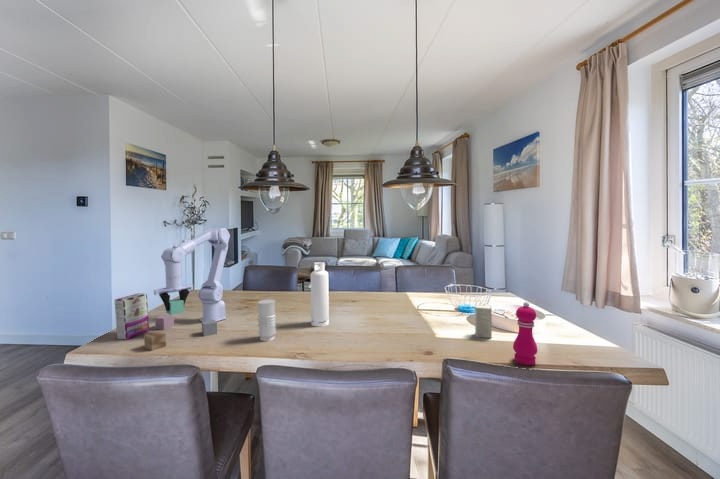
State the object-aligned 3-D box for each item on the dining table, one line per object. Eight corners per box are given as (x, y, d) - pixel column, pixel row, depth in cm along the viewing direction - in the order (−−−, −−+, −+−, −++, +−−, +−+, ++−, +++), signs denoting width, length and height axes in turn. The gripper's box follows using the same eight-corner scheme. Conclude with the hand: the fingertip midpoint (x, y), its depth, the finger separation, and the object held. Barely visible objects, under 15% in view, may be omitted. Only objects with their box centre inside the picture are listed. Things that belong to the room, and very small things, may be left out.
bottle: (307, 325, 147) (306, 263, 145) (316, 320, 154) (316, 261, 153) (323, 327, 144) (323, 264, 142) (332, 322, 151) (331, 262, 150)
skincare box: (491, 334, 134) (491, 305, 133) (491, 338, 129) (492, 308, 129) (474, 333, 136) (475, 304, 135) (474, 336, 131) (475, 307, 131)
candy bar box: (139, 330, 142) (138, 292, 141) (149, 330, 141) (147, 293, 140) (115, 339, 131) (113, 299, 130) (126, 340, 130) (124, 299, 129)
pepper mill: (514, 354, 114) (516, 298, 113) (538, 359, 110) (540, 301, 109) (510, 362, 108) (512, 302, 107) (535, 367, 104) (537, 306, 103)
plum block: (165, 325, 148) (165, 314, 148) (174, 326, 146) (173, 315, 146) (155, 328, 143) (155, 317, 143) (164, 330, 142) (163, 318, 141)
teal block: (179, 310, 140) (178, 298, 140) (183, 312, 137) (183, 300, 137) (166, 312, 136) (165, 300, 136) (171, 314, 133) (170, 302, 133)
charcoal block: (214, 330, 141) (214, 319, 140) (217, 334, 136) (216, 322, 136) (202, 333, 138) (201, 321, 137) (204, 336, 134) (203, 324, 133)
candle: (260, 342, 126) (259, 304, 125) (257, 337, 132) (256, 300, 132) (278, 339, 129) (277, 302, 129) (274, 334, 136) (273, 298, 135)
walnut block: (158, 344, 126) (158, 331, 126) (166, 346, 123) (165, 333, 123) (144, 348, 121) (144, 335, 121) (152, 351, 119) (151, 337, 119)
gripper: (157, 280, 128) (159, 314, 128) (195, 275, 139) (197, 307, 140) (151, 278, 132) (152, 311, 133) (188, 273, 143) (189, 304, 144)
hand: (175, 309), depth 137 cm, fingers closed on teal block, 5 cm apart
